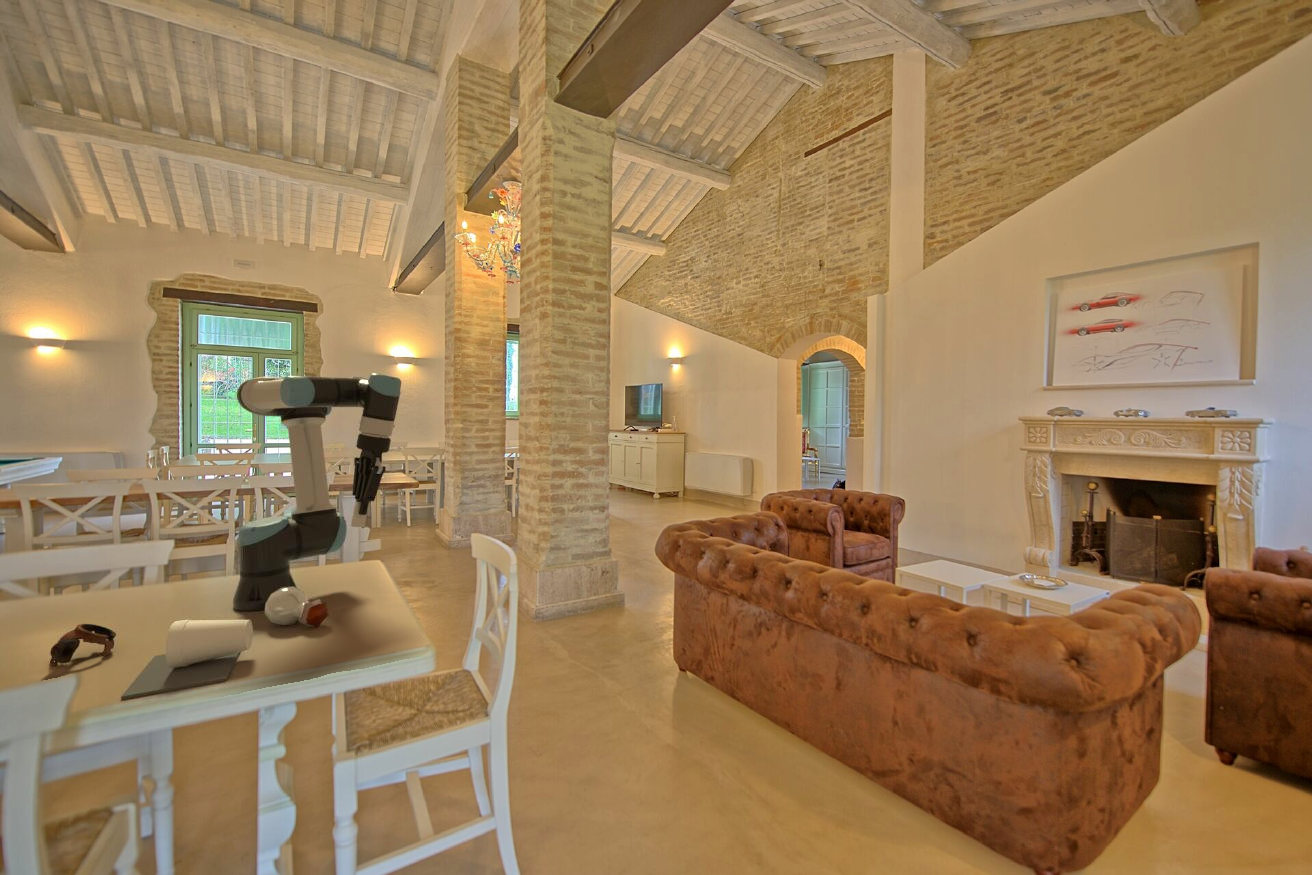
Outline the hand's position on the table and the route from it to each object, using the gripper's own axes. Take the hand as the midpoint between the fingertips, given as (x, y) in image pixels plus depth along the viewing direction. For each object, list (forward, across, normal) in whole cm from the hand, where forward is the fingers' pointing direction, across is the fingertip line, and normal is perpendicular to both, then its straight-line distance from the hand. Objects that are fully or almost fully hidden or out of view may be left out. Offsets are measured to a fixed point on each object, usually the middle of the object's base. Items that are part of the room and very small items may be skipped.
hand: (357, 526), depth 144 cm
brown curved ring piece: (+35, +21, +44) cm, 60 cm away
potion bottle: (+28, +7, +7) cm, 29 cm away
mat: (+30, -4, +30) cm, 43 cm away
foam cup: (+22, -6, +21) cm, 32 cm away
